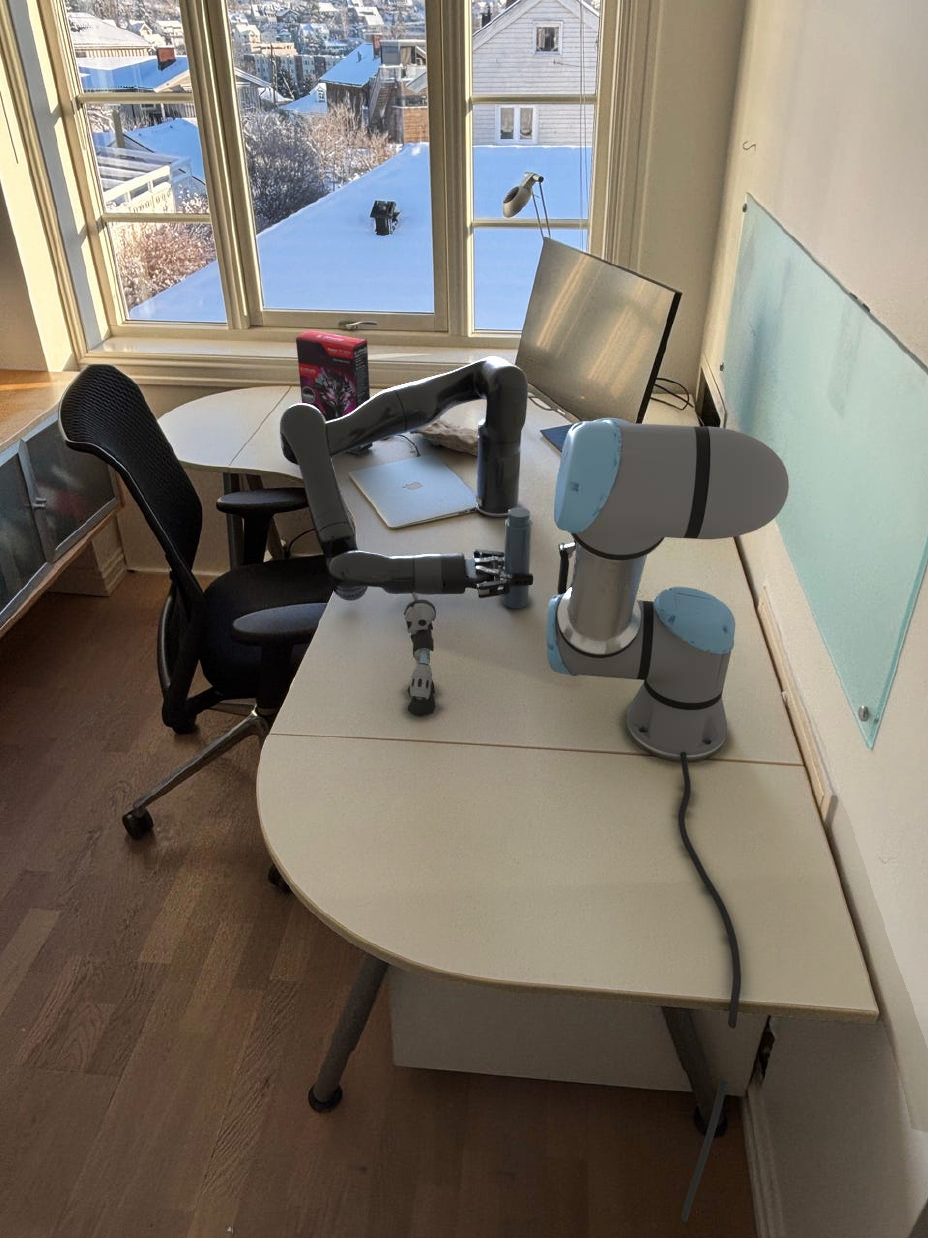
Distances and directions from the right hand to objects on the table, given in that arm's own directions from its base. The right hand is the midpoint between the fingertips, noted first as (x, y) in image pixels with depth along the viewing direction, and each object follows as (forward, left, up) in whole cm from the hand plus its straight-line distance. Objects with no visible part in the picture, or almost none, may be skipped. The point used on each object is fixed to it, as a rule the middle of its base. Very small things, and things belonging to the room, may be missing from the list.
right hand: (590, 630), depth 162 cm
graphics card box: (+68, +74, -2) cm, 101 cm away
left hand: (+9, +13, +5) cm, 17 cm away
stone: (+76, +48, -2) cm, 90 cm away
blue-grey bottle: (+9, +15, -2) cm, 18 cm away
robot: (-24, +23, -2) cm, 34 cm away
